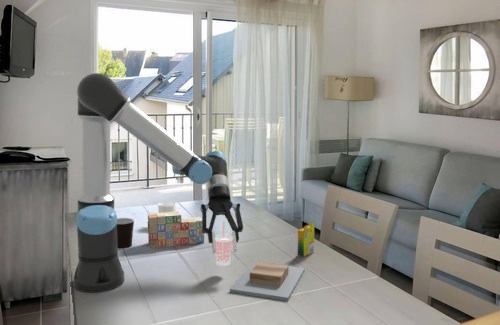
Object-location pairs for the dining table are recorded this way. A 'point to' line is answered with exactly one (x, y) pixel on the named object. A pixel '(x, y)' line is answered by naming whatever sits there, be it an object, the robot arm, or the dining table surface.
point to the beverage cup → (223, 248)
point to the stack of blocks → (173, 229)
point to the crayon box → (306, 240)
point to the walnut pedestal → (269, 273)
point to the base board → (267, 290)
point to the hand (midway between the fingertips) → (224, 251)
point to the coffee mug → (124, 232)
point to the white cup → (166, 207)
